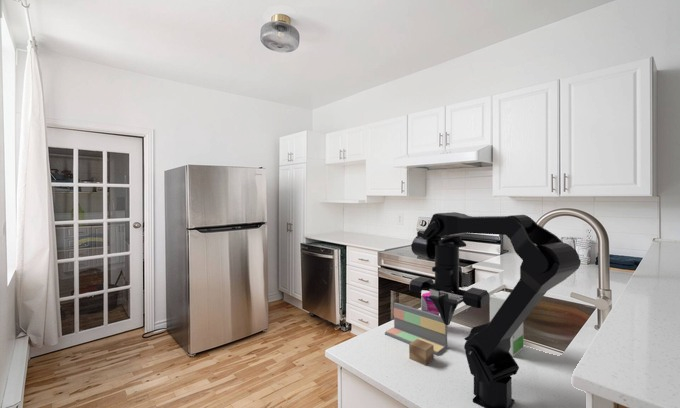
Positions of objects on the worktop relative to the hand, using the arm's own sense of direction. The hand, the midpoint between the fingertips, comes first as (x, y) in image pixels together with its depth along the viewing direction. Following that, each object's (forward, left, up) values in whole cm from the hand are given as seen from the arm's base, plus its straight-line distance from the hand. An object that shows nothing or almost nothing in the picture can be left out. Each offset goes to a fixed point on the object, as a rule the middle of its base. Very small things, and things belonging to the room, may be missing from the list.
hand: (447, 324), depth 78 cm
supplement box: (+16, -20, -12) cm, 29 cm away
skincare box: (-7, -22, -12) cm, 26 cm away
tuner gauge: (+14, -7, -12) cm, 20 cm away
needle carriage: (+7, 0, -12) cm, 14 cm away
